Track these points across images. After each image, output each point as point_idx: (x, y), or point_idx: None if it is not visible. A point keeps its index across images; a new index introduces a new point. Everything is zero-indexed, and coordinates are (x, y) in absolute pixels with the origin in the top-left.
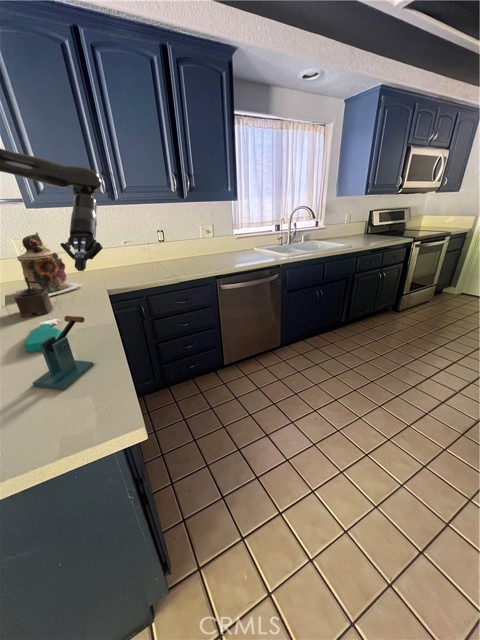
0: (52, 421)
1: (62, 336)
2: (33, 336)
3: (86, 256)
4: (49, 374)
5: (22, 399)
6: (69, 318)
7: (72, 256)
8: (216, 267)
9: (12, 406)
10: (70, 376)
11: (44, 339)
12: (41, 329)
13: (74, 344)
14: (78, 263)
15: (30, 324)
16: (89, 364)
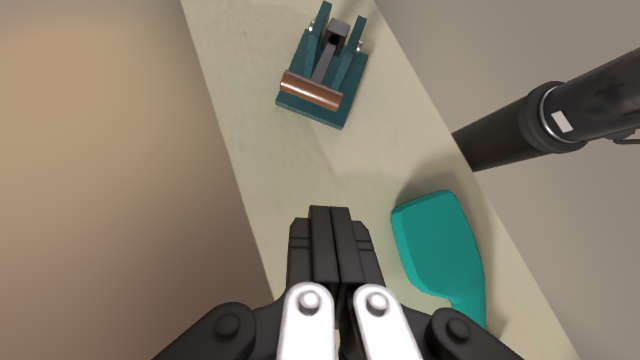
0: None
1: (325, 46)
2: (462, 242)
3: (259, 318)
4: (349, 74)
5: (366, 27)
6: (324, 85)
7: (429, 319)
8: None
9: (372, 14)
10: (304, 57)
11: (425, 215)
12: (466, 290)
13: (353, 215)
14: (336, 233)
15: None
16: (279, 91)
